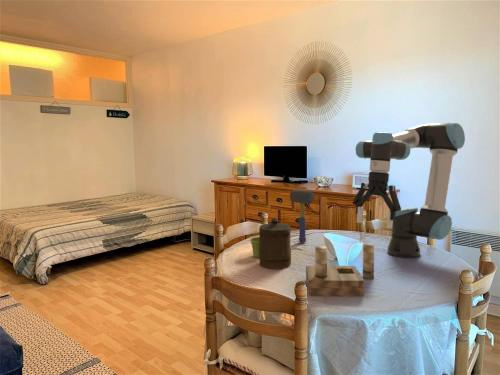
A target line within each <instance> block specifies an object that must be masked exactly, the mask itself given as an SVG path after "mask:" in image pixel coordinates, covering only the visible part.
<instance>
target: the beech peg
mask: <svg viewBox="0 0 500 375" xmlns="http://www.w3.org/2000/svg"><path fill="white" fill-rule="evenodd" d="M374 276H375V244H373V243H363V244H362V278H363V279H364V280H373V279H374V278H375V277H374Z"/></svg>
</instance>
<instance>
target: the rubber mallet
mask: <svg viewBox="0 0 500 375" xmlns="http://www.w3.org/2000/svg"><path fill="white" fill-rule="evenodd" d="M289 199H290V201H291V202H292V203H297V204H299V217H298V218H299V219H298V228H299V236H298V241H299V243H300V244H305V243H306V242H307V237H306V226H307V225H306V222H307V221H306V216H305V214H306V213H305V204H307V205H309V204H312V203H314V202H315V194H314V192H313V190H305V189H293V190H291V191H290V193H289Z"/></svg>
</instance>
